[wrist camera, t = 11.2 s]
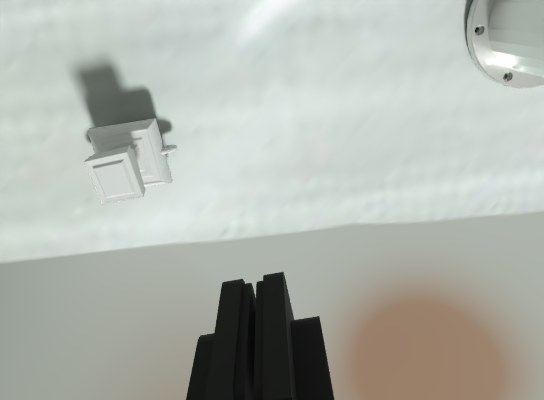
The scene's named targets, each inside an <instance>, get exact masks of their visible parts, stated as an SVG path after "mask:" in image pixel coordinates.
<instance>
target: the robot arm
mask: <svg viewBox="0 0 544 400" xmlns="http://www.w3.org/2000/svg"><path fill="white" fill-rule="evenodd" d="M476 27H477V28H478V30H477V32H475V28H476ZM467 41H468V48H469V51H470V54H471V56H472V59H473V61H474V62H475V64H476V66H477V67H478V69H479V70H480V71H481V72H482V73H483V74H484V75H485V76H486V77H488V78H490V79H491V80H493V81H495V82H496V83H499V84H502V85H505V86H509V87H514V88H532V87H538V86H542V85H544V0H473V2H472V4H471V7H470V11H469V16H468V20H467ZM504 75H505V77H504ZM503 77H504V78H503ZM186 400H334V395H333V389H332V384H331V378H330V372H329V367H328V362H327V356H326V350H325V345H324V339H323V334H322V329H321V323H320V318H319V316H317V317H312V318H305V319H299V320H294V317H293V313H292V308H291V303H290V298H289V294H288V289H287V285H286V280H285V276H284V273H283V272H280V273H274V274H268V275H264V276H263V281H259V282H257V285H256V298H255V294H254V290H253V286H252V284H251V283H247V284H245V282H244V280H243V279H239V280H234V281H227V282H223V283H222V288H221V294H220V301H219V307H218V314H217V320H216V327H215V333H213V334H207V335H201V336H200V337H199V339H198V342H197V347H196V352H195V358H194V363H193V367H192V373H191V377H190V382H189V387H188V393H187V398H186Z"/></svg>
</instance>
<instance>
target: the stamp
mask: <svg viewBox="0 0 544 400" xmlns="http://www.w3.org/2000/svg"><path fill="white" fill-rule="evenodd" d="M88 134H89V137H90V140H91V143H92V146H93V149H94V152H95V154H94V155H93V156H90V157H89V158H88V159H86V160H85V161H84V164H85V167H86V169H87V171H88V173H89V176H90V178H91V180H92V182H93V185H94V187H95V189H96V192H97V194H98V196H99V198H100V201H101V203H102V205H103V204H108V203H114V202H119V201H125V200H130V199H135V198H141V197H143V196H144V193H145V187H146V186H152V185H159V184H166V183H171V182H172V181H173V180H172V176H171V173H170V169H169V165H168V162H167V158H166V154H167V153H171V152H174V151H176V149H177V146H176V145H165V146H163V143H162V140H161V136H160V132H159V129H158V125H157V121H156V118H154V119H147V120H141V121H134V122H128V123H122V124H115V125H109V126H102V127H96V128H90V129H89V130H88Z"/></svg>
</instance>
